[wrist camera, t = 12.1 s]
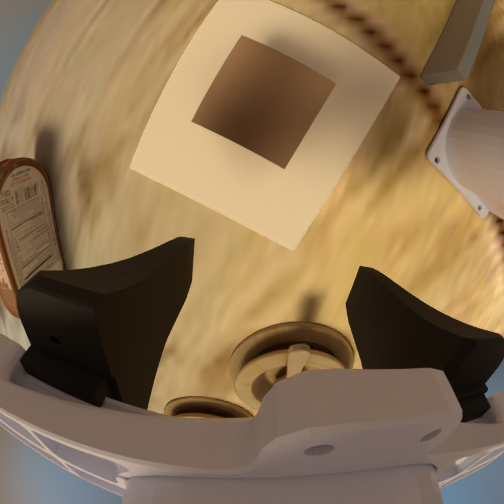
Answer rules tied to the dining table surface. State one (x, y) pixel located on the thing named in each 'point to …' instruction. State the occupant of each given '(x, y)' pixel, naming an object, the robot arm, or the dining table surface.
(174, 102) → the mat
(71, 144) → the dining table surface
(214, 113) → the walnut block
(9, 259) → the tin
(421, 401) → the robot arm
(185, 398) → the tableware set
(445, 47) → the open box
